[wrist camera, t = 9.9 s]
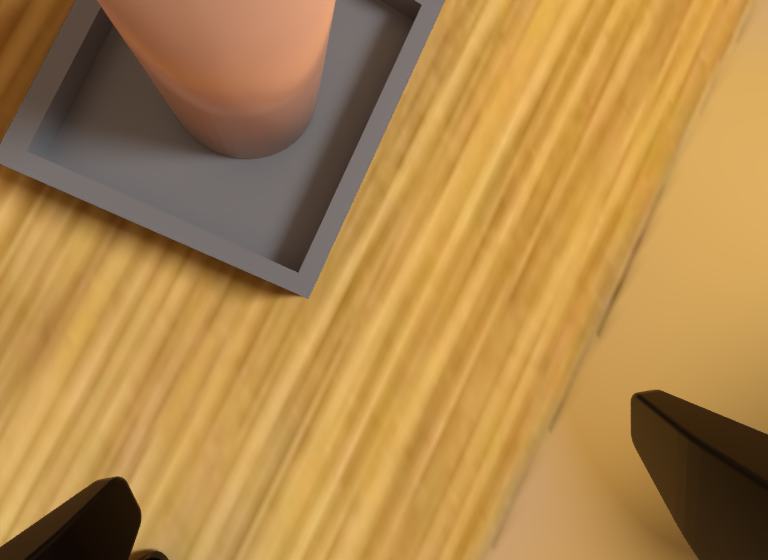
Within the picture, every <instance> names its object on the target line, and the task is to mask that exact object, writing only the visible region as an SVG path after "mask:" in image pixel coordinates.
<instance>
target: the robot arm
mask: <svg viewBox="0 0 768 560" xmlns="http://www.w3.org/2000/svg"><path fill="white" fill-rule="evenodd" d="M631 437H632V441H633V444H634V446H635V448H636V450H637V452H638V454H639V456H640V457H641V460H642V461H643V463H644V465H645V467H646V469H647V471H648V472H649V474H650V476H651V478H652V480H653V482H654V484H655V485H656V487H657V489H658V491H659V493H660V495H661V496H662V498H663V500H664V502H665V504H666V506H667V507H668V509H669V511H670V513H671V515H672V517H673V519H674V520H675V522H676V524H677V526H678V527H679V529H680V531H681V533H682V534H683V536H684V538H685V539H686V541H687V542H688V544H689V545H690V547H691V549H692V550H693V552H694V553H695V555H696V556H697V558H698V559H699V560H768V434H765V433H763V432H761V431H758V430H756V429H753V428H751V427H748V426H746V425H744V424H741V423H739V422H736V421H734V420H731V419H729V418H727V417H724V416H722V415H719V414H717V413H714V412H712V411H710V410H707V409H705V408H702V407H700V406H697V405H695V404H693V403H690V402H688V401H685V400H683V399H681V398H678V397H676V396H673V395H671V394H668V393H666V392H664V391H661V390H650V391H644V392H638V393H635V394H634V395H633V396H632V398H631ZM140 524H141V510H140V507H139V505H138V503H137V501H136V499H135V497H134V495H133V493H132V491H131V489H130V487H129V485H128V483H127V481H126V480H125V479H124V478H122V477H111V478H105V479H100V480H97V481H95V482H93V483H92V484H91V485H89V486H88V487H86V488H85V489H83V490H82V491H81V492H79V493H78V494H76V495H75V496H73V497H72V498H70V499H69V500H68V501H66V502H65V503H63V504H62V505H60V506H59V507H57V508H56V509H55V510H53V511H52V512H50V513H49V514H47V515H46V516H44V517H43V518H42V519H40V520H39V521H37V522H36V523H34V524H33V525H32V526H30V527H29V528H27V529H26V530H24V531H23V532H21V533H20V534H19V535H17V536H16V537H14V538H13V539H11V540H10V541H8V542H7V543H6V544H4V545H3V546H1V547H0V560H129V558H130V555H131V552H132V549H133V546H134V543H135V540H136V537H137V534H138V531H139V528H140ZM139 560H168V558H167V557H166V556H165V555H164V554H163V553H161V552H158V551H156V552H151V553H149V554H147V555H145V556H144V557H142V558H141V559H139Z"/></svg>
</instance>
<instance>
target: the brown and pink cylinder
mask: <svg viewBox="0 0 768 560" xmlns="http://www.w3.org/2000/svg"><path fill="white" fill-rule="evenodd" d="M97 1H98V2H99V4H100V5H101V7H102V8H103V10H104V11H105V13H106V14H107V16H108V17H109V19H110V20H111V22H112V23H113V25H114V26H115V28H116V29H117V31H118V32H119V34H120V35H121V37H122V38H123V39H124V41H125V42H126V44H127V45H128V47H129V48H130V50H131V51H132V53H133V54H134V56H135V57H136V59H137V60H138V62H139V63H140V65H141V66H142V68H143V69H144V71H145V72H146V74H147V75H148V76H149V78H150V79H151V81H152V82H153V84H154V85H155V87H156V88H157V90H158V91H159V93H160V94H161V96H162V97H163V99H164V100H165V102H166V103H167V105H168V106H169V108H170V109H171V111H172V112H173V113H174V115H175V116H176V118H177V119H178V121H179V122H180V124H181V125H182V126H183V127H184V129H185V130H186V131H187V132H188V133H189V134H190V135H191V136H192V137H193V138H194V139H195V140H197V141H198V142H199V143H201V144H202V145H204V146H205V147H207V148H209V149H210V150H213V151H215V152H217V153H219V154H222V155H225V156H229V157H234V158H240V159H257V158H263V157H268V156H271V155H274V154H277V153H279V152H281V151H283V150H285V149H287V148H288V147H289V146H291V145H292V144H294V143H295V142H296V141H297V140H298V139H299V138H300V137H301V136H302V135H303V133H304V132H305V131H306V129H307V128H308V126H309V124H310V122H311V120H312V118H313V115H314V112H315V108H316V104H317V98H318V93H319V88H320V82H321V77H322V71H323V66H324V61H325V55H326V50H327V45H328V39H329V34H330V28H331V23H332V18H333V12H334V7H335V1H336V0H97Z"/></svg>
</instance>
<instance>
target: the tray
mask: <svg viewBox="0 0 768 560" xmlns="http://www.w3.org/2000/svg"><path fill="white" fill-rule="evenodd" d="M444 2H445V0H336V1H335V7H334V12H333V18H332V23H331V28H330V34H329V39H328V45H327V50H326V55H325V61H324V66H323V71H322V77H321V82H320V88H319V93H318V98H317V104H316V108H315V112H314V115H313V118H312V120H311V122H310V124H309V126H308V128H307V129H306V131H305V132H304V133H303V135H302V136H301V137H300V138H299V139H298V140H297V141H296V142H295V143H294V144H292V145H291V146H289V147H288V148H287V149H285V150H283V151H281V152H279V153H277V154H274V155H271V156H268V157H263V158H257V159H240V158H234V157H229V156H225V155H222V154H219V153H217V152H215V151H213V150H210V149H209V148H207V147H205V146H204V145H202V144H201V143H199V142H198V141H197V140H195V139H194V138H193V137H192V136H191V135H190V134H189V133H188V132H187V131H186V130H185V129H184V127H183V126H182V125H181V124H180V122H179V121H178V119H177V118H176V116H175V115H174V113H173V112H172V111H171V109H170V108H169V106H168V105H167V103H166V102H165V100H164V99H163V97H162V96H161V94H160V93H159V91H158V90H157V88H156V87H155V85H154V84H153V82H152V81H151V79H150V78H149V76H148V75H147V74H146V72H145V71H144V69H143V68H142V66H141V65H140V63H139V62H138V60H137V59H136V57H135V56H134V54H133V53H132V51H131V50H130V48H129V47H128V45H127V44H126V42H125V41H124V39H123V38H122V37H121V35H120V34H119V32H118V31H117V29H116V28H115V26H114V25H113V23H112V22H111V20H110V19H109V17H108V16H107V14H106V13H105V11H104V10H103V8H102V7H101V5H100V4H99V2H98V1H97V0H75V2H74V4H73V6H72V8H71V10H70V12H69V14H68V16H67V17H66V19H65V21H64V23H63V25H62V27H61V29H60V31H59V33H58V35H57V37H56V38H55V40H54V42H53V44H52V46H51V48H50V50H49V52H48V54H47V56H46V58H45V59H44V61H43V63H42V65H41V67H40V69H39V71H38V73H37V75H36V77H35V79H34V80H33V82H32V84H31V86H30V88H29V90H28V92H27V94H26V96H25V98H24V99H23V101H22V103H21V105H20V107H19V109H18V111H17V113H16V115H15V117H14V119H13V120H12V122H11V124H10V126H9V128H8V130H7V132H6V134H5V136H4V138H3V140H2V141H1V143H0V164H1V165H4V166H6V167H8V168H10V169H13V170H15V171H17V172H20V173H22V174H24V175H26V176H29V177H31V178H33V179H36V180H38V181H40V182H42V183H45V184H47V185H49V186H52V187H54V188H56V189H58V190H61V191H63V192H65V193H68V194H70V195H72V196H74V197H77V198H79V199H81V200H84V201H86V202H88V203H90V204H93V205H95V206H97V207H100V208H102V209H104V210H106V211H109V212H111V213H113V214H116V215H118V216H120V217H122V218H125V219H127V220H129V221H132V222H134V223H136V224H138V225H141V226H143V227H145V228H147V229H150V230H152V231H154V232H157V233H159V234H161V235H163V236H166V237H168V238H170V239H173V240H175V241H177V242H179V243H182V244H184V245H186V246H189V247H191V248H193V249H195V250H198V251H200V252H202V253H205V254H207V255H209V256H211V257H214V258H216V259H218V260H221V261H223V262H225V263H227V264H230V265H232V266H234V267H237V268H239V269H241V270H243V271H246V272H248V273H250V274H253V275H255V276H257V277H259V278H262V279H264V280H266V281H269V282H271V283H273V284H275V285H278V286H280V287H282V288H285V289H287V290H289V291H291V292H294V293H296V294H298V295H301V296H303V297H305V298H307V299H309V296H310V294H311V292H312V290H313V288H314V285H315V283H316V281H317V279H318V277H319V275H320V272H321V270H322V268H323V266H324V264H325V261H326V259H327V257H328V255H329V253H330V251H331V248H332V246H333V244H334V242H335V240H336V237H337V235H338V233H339V231H340V229H341V227H342V224H343V222H344V220H345V218H346V216H347V213H348V211H349V209H350V207H351V205H352V203H353V200H354V198H355V196H356V194H357V192H358V189H359V187H360V185H361V183H362V181H363V179H364V176H365V174H366V172H367V170H368V168H369V165H370V163H371V161H372V159H373V157H374V155H375V152H376V150H377V148H378V146H379V144H380V141H381V139H382V137H383V135H384V133H385V131H386V128H387V126H388V124H389V122H390V120H391V117H392V115H393V113H394V111H395V109H396V107H397V104H398V102H399V100H400V98H401V96H402V93H403V91H404V89H405V87H406V85H407V83H408V80H409V78H410V76H411V74H412V72H413V69H414V67H415V65H416V63H417V61H418V58H419V56H420V54H421V52H422V50H423V48H424V45H425V43H426V41H427V39H428V37H429V34H430V32H431V30H432V28H433V26H434V24H435V21H436V19H437V17H438V15H439V13H440V10H441V8H442V6H443V4H444Z"/></svg>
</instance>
